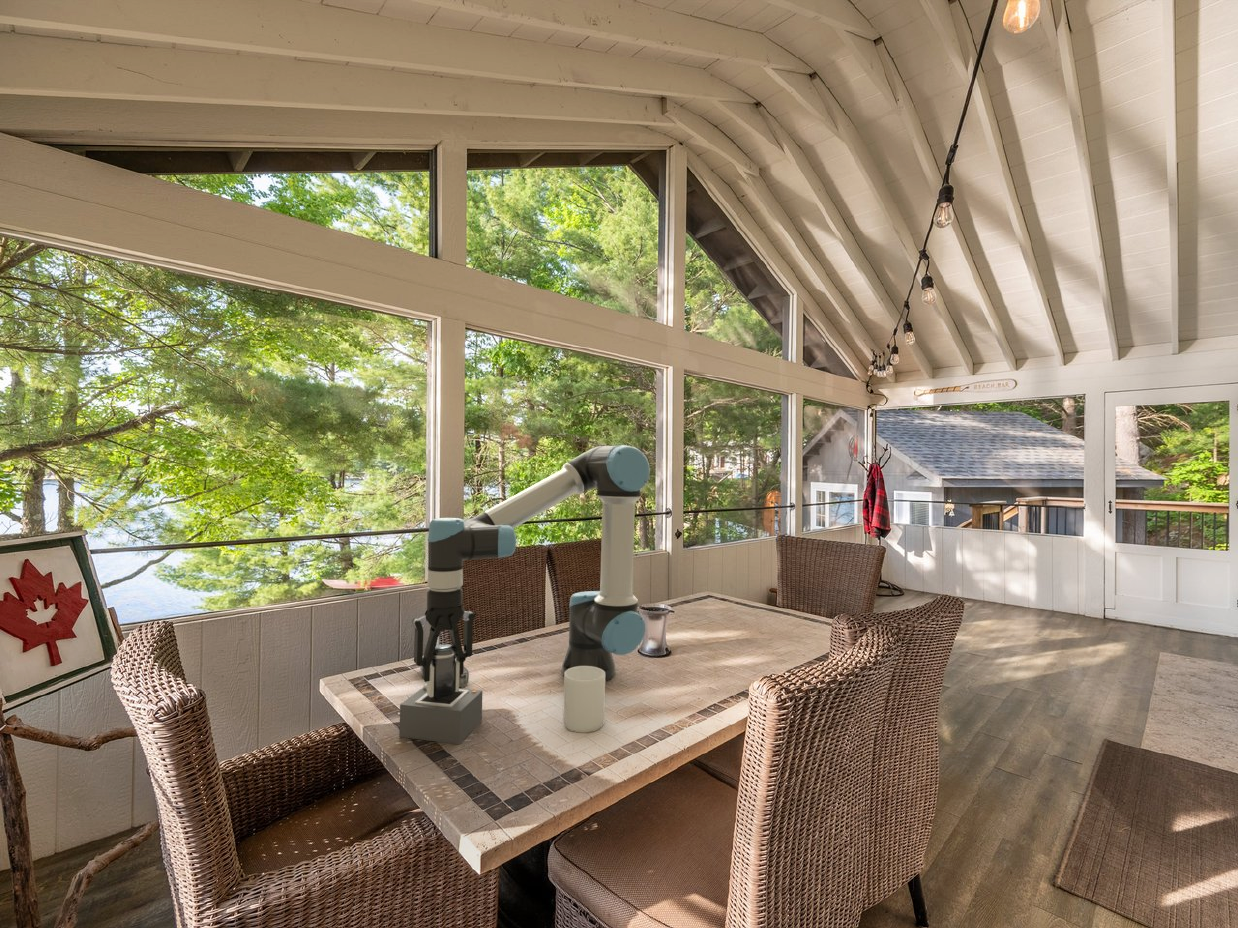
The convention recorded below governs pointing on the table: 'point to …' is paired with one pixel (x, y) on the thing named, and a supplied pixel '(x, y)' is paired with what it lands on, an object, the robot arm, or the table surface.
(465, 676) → the handheld device
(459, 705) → the grey planter box
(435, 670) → the lens
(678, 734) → the table surface
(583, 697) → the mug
